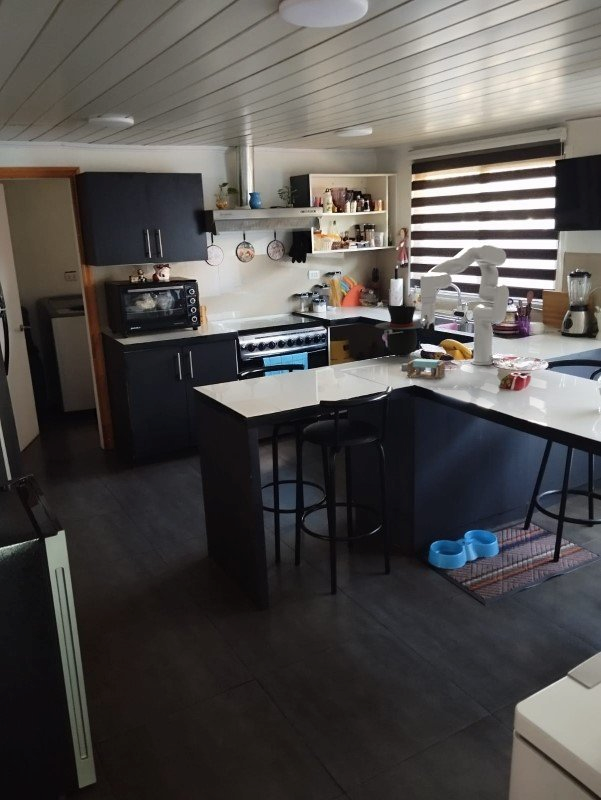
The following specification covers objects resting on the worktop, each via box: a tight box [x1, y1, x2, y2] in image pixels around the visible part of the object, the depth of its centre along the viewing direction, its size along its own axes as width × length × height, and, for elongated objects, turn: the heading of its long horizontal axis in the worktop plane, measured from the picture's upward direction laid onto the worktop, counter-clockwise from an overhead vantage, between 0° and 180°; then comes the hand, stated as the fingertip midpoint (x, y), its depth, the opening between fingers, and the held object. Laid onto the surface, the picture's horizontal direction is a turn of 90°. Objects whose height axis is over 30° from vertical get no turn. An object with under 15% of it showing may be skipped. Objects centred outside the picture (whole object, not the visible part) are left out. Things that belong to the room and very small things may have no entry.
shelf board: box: [413, 358, 441, 369], centre depth 312 cm, size 12×6×3 cm, turn 63°
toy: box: [374, 305, 422, 357], centre depth 362 cm, size 31×31×30 cm
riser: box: [401, 363, 426, 372], centre depth 327 cm, size 12×3×3 cm, turn 63°
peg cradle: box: [406, 359, 446, 380], centre depth 313 cm, size 17×9×7 cm, turn 63°
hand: (428, 334), depth 310 cm, fingers open, 9 cm apart
